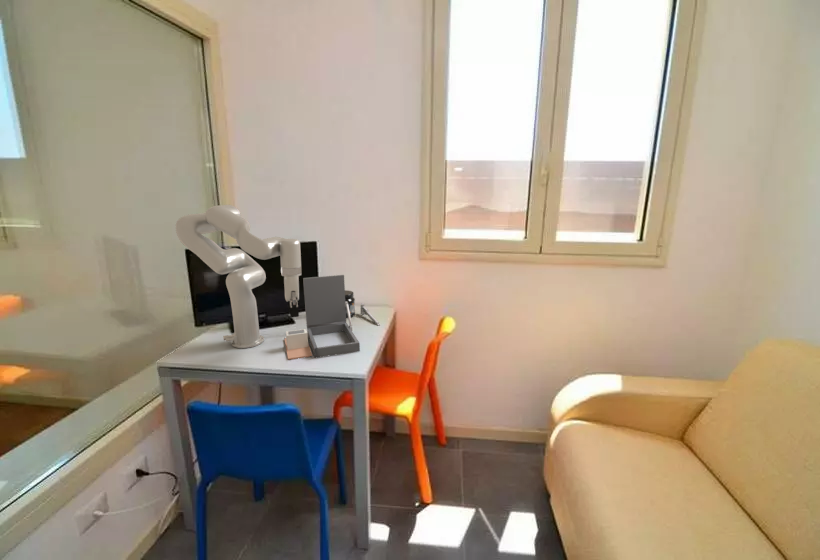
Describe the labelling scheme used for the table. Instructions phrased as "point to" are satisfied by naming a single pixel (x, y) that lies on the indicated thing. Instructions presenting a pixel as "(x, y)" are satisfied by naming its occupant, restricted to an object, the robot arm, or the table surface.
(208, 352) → the table surface
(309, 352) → the rubber mat
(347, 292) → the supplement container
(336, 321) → the equipment case
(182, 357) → the table surface
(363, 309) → the caliper
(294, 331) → the module
